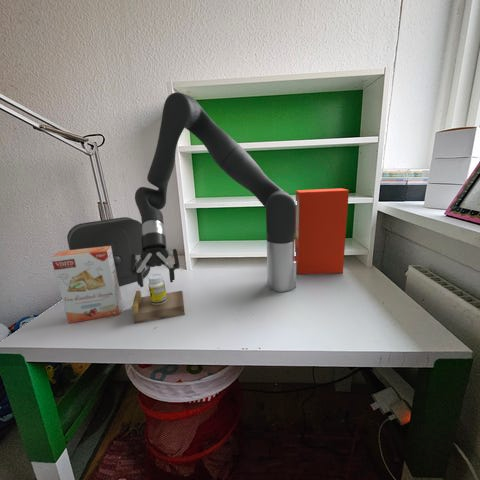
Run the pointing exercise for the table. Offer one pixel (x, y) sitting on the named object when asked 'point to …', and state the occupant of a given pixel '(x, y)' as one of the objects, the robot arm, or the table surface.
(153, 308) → the dock
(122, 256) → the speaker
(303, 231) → the file binder
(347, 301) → the table surface
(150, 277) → the supplement bottle
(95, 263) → the cracker box
